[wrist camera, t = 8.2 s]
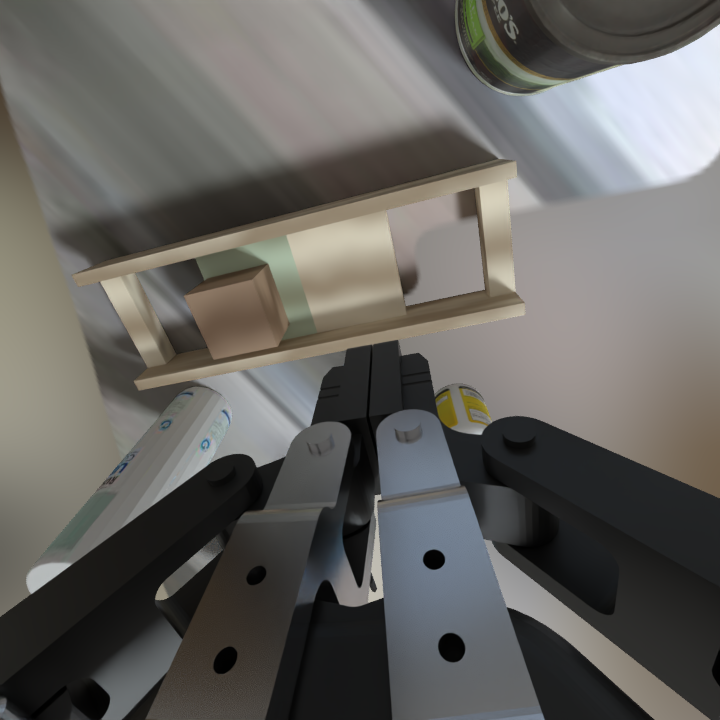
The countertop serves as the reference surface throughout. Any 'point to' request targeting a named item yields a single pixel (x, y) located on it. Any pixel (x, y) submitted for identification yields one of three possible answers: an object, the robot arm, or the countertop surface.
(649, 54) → the coffee can
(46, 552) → the spray can
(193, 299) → the walnut block
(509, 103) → the countertop surface
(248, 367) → the frame
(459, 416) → the supplement bottle
